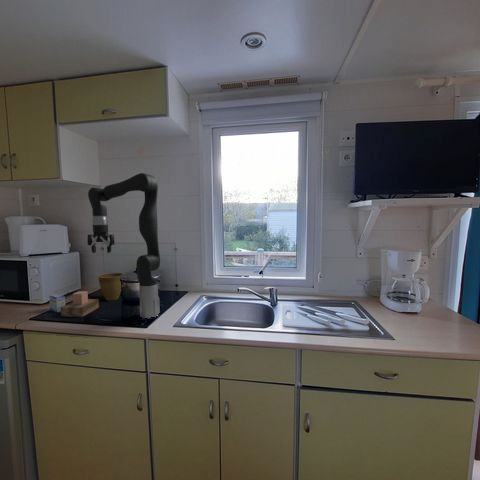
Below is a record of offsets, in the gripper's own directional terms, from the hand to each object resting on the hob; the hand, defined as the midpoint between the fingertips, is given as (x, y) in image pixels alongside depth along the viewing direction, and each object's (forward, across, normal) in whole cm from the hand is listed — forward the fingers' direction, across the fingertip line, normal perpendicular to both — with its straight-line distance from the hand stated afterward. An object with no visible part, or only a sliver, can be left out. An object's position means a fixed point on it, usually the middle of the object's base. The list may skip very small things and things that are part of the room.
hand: (101, 252), depth 139 cm
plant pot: (+33, +6, -19) cm, 39 cm away
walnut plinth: (+33, +11, +4) cm, 35 cm away
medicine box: (+33, +26, +2) cm, 42 cm away
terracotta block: (+28, +11, +4) cm, 30 cm away
